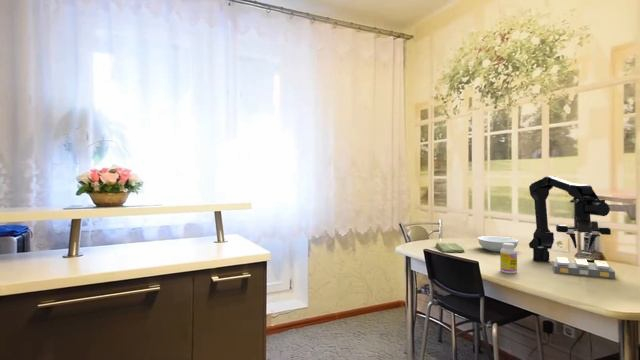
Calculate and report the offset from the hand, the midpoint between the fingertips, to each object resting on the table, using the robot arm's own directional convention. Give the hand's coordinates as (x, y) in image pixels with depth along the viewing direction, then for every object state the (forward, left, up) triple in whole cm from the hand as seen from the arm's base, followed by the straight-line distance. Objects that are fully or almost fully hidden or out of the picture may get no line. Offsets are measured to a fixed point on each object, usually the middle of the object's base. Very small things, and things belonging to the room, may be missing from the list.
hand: (582, 249), depth 153 cm
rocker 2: (0, +2, -7) cm, 7 cm away
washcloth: (-60, +28, -12) cm, 67 cm away
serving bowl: (-34, +37, -11) cm, 52 cm away
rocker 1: (-7, +2, -7) cm, 10 cm away
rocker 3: (+7, +2, -7) cm, 10 cm away
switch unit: (0, +2, -11) cm, 11 cm away
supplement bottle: (-28, -10, -11) cm, 32 cm away
